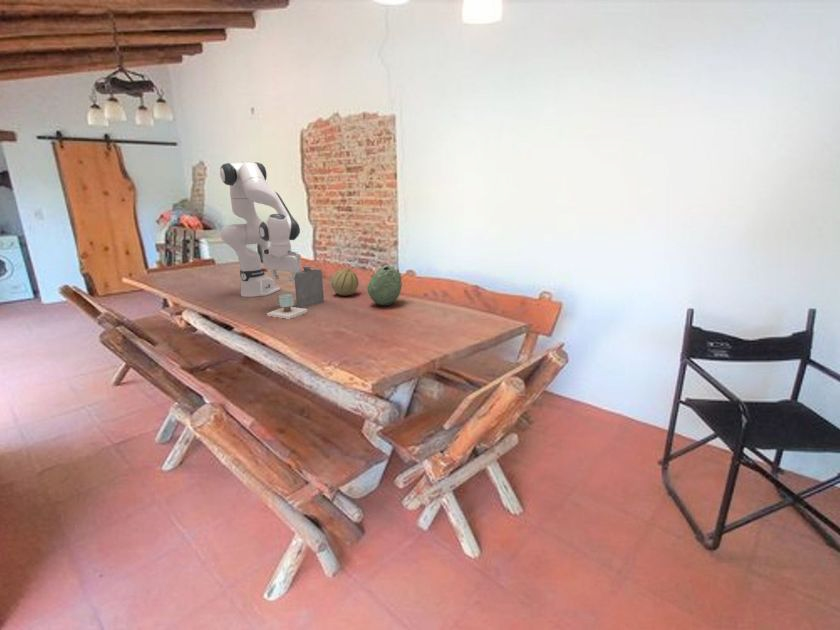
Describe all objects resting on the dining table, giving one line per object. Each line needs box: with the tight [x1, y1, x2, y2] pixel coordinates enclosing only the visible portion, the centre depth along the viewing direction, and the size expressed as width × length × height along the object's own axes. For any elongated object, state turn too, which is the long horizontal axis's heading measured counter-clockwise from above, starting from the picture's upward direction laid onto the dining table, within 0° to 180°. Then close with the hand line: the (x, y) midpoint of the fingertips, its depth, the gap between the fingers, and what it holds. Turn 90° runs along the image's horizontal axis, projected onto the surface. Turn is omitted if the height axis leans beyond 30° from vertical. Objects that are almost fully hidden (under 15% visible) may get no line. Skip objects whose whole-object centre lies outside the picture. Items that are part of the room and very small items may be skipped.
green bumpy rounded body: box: [366, 264, 403, 307], centre depth 220 cm, size 16×19×20 cm
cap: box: [278, 293, 295, 308], centre depth 207 cm, size 6×6×5 cm
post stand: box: [266, 306, 308, 320], centre depth 208 cm, size 13×13×8 cm
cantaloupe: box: [330, 268, 359, 297], centre depth 240 cm, size 15×15×15 cm
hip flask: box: [294, 265, 325, 309], centre depth 222 cm, size 16×4×20 cm, turn 140°
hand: (284, 279), depth 204 cm, fingers open, 8 cm apart
